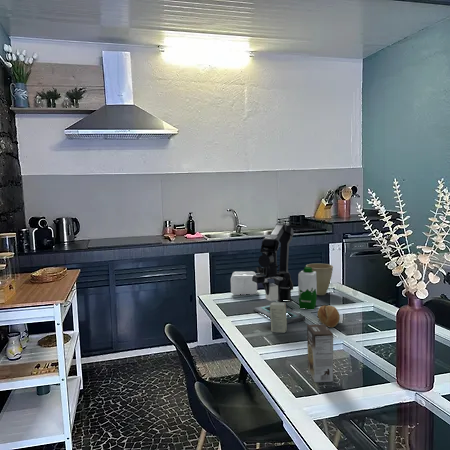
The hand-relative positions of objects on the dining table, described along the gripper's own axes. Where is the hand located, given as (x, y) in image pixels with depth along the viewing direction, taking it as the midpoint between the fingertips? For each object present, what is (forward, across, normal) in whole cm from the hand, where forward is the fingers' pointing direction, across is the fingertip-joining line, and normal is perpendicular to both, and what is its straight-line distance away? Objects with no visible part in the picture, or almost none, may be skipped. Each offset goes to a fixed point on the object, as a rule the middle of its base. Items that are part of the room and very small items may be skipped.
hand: (271, 294), depth 206 cm
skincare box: (+9, +11, +24) cm, 28 cm away
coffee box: (+9, +21, +66) cm, 70 cm away
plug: (+3, 0, 0) cm, 3 cm away
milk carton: (+9, -19, +3) cm, 21 cm away
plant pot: (+9, -40, -15) cm, 44 cm away
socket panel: (+9, 0, +6) cm, 11 cm away
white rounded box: (+9, -4, -38) cm, 39 cm away
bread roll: (+9, -13, +27) cm, 31 cm away
